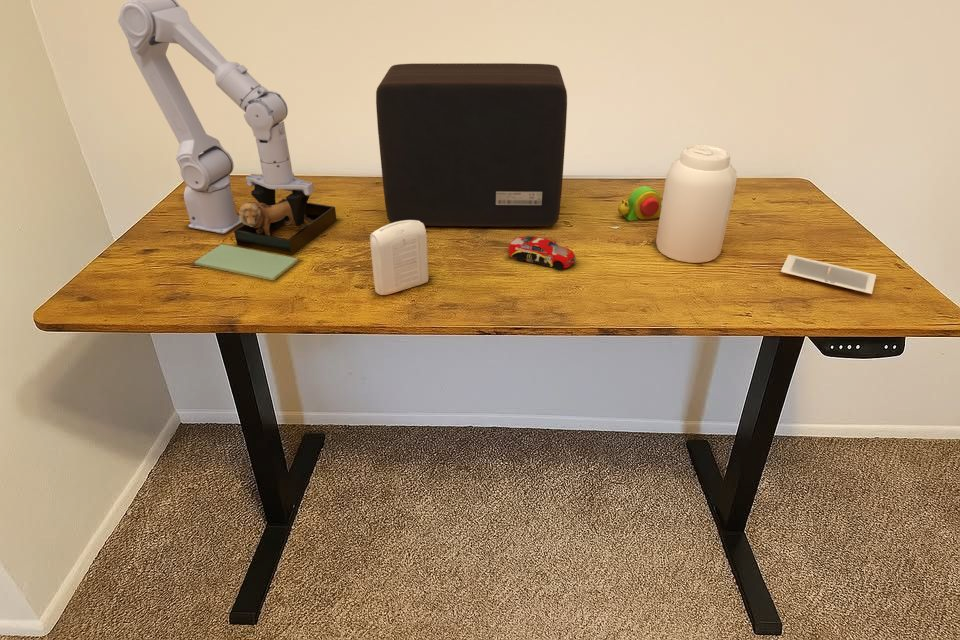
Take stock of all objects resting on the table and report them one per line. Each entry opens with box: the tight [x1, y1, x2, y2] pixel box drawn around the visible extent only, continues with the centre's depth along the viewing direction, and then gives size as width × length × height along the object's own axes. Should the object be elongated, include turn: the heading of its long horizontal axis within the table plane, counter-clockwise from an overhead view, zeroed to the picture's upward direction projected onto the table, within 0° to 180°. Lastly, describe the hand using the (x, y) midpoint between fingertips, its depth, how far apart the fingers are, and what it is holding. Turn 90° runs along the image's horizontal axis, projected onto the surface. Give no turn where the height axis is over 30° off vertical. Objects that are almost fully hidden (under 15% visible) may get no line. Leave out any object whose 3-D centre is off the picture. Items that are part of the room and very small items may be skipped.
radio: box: [375, 62, 568, 228], centre depth 135 cm, size 36×18×30 cm, turn 88°
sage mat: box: [193, 243, 299, 282], centre depth 125 cm, size 18×8×1 cm, turn 70°
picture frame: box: [233, 198, 338, 256], centre depth 135 cm, size 13×17×3 cm
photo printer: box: [369, 220, 429, 296], centre depth 114 cm, size 10×4×12 cm, turn 123°
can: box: [655, 144, 738, 264], centre depth 123 cm, size 12×12×20 cm
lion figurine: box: [238, 201, 311, 236], centre depth 132 cm, size 15×5×9 cm, turn 130°
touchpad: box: [780, 254, 877, 295], centre depth 118 cm, size 8×15×2 cm, turn 58°
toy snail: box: [617, 185, 662, 222], centre depth 141 cm, size 6×19×7 cm, turn 108°
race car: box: [507, 235, 576, 271], centre depth 124 cm, size 13×5×4 cm, turn 63°
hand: (286, 222), depth 134 cm, fingers closed on lion figurine, 6 cm apart
